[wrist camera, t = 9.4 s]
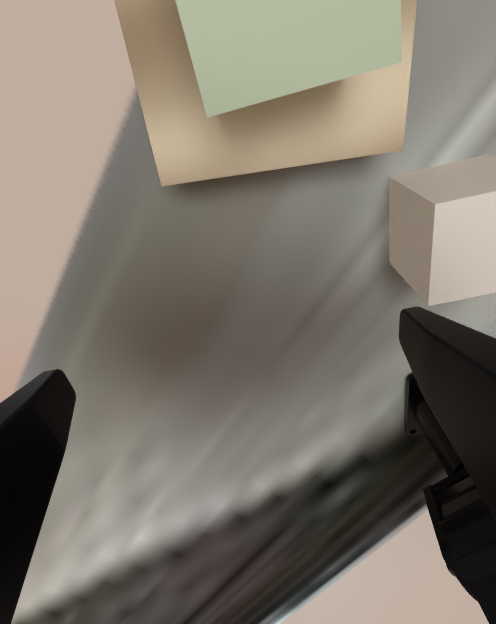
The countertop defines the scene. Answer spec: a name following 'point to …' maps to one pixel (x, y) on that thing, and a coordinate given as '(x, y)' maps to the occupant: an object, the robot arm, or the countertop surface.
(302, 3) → the sage cube
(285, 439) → the countertop surface
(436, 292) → the white cube
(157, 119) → the birch block
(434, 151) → the countertop surface
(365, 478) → the countertop surface
